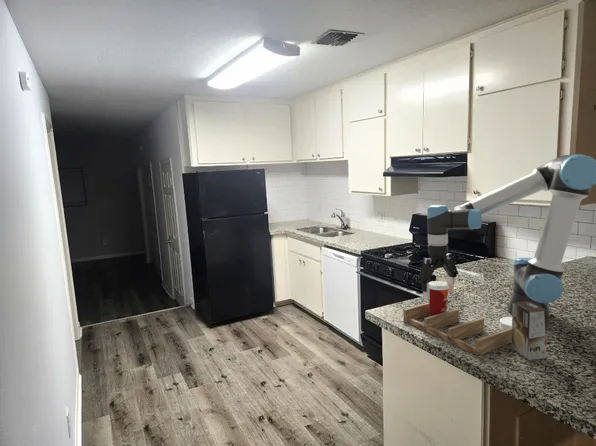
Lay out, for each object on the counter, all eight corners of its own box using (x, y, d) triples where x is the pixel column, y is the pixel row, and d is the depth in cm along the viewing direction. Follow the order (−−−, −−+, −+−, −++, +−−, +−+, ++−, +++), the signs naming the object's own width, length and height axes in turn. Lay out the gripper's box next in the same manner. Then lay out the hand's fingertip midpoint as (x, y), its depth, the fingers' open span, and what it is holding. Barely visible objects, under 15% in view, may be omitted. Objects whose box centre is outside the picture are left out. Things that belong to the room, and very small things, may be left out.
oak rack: (512, 342, 135) (512, 328, 135) (478, 355, 127) (478, 341, 127) (434, 311, 166) (434, 300, 165) (403, 321, 158) (403, 309, 157)
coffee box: (547, 358, 123) (549, 310, 121) (528, 360, 123) (530, 312, 121) (527, 345, 132) (529, 300, 130) (510, 347, 132) (511, 302, 130)
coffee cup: (450, 323, 153) (450, 286, 151) (428, 322, 155) (428, 286, 153) (446, 315, 162) (447, 280, 159) (426, 314, 163) (426, 280, 161)
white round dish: (502, 334, 142) (503, 325, 141) (496, 324, 151) (496, 315, 151) (533, 336, 139) (533, 327, 138) (525, 325, 148) (525, 316, 148)
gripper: (452, 238, 163) (452, 287, 166) (407, 247, 151) (408, 299, 154) (467, 240, 156) (467, 291, 159) (421, 250, 145) (422, 304, 148)
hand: (438, 295), depth 157 cm, fingers open, 13 cm apart
